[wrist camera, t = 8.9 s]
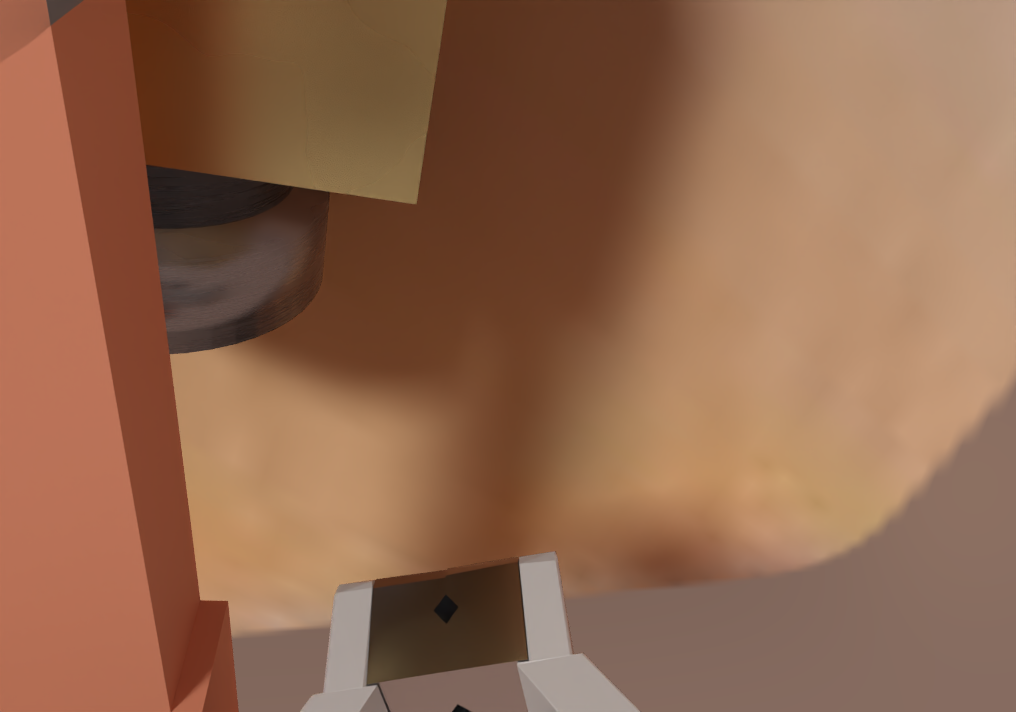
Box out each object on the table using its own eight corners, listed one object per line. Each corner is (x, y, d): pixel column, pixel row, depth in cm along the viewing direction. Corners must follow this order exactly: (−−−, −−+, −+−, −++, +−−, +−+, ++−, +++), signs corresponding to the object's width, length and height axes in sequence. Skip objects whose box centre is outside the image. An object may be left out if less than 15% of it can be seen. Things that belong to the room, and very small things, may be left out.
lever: (149, -566, 5) (56, -667, 4) (254, 730, 13) (234, 839, 12) (-539, -696, 5) (-901, -857, 3) (-1, 730, 13) (-49, 844, 11)
